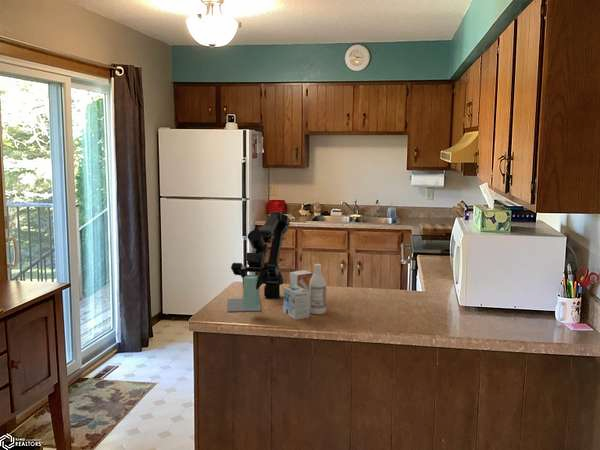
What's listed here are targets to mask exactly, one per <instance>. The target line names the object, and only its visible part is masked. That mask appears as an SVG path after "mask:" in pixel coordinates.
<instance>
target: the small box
mask: <svg viewBox="0 0 600 450" xmlns="http://www.w3.org/2000/svg"><path fill="white" fill-rule="evenodd" d="M313 274H314V272H311V271H308V270H305V269H304V270H295V271H290V272H289V287H291V286H299V287H301V288H303V289H305V290H307V291H309V282H310V279H311V277H312V276H313Z"/></svg>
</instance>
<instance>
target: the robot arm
mask: <svg viewBox="0 0 600 450" xmlns="http://www.w3.org/2000/svg"><path fill="white" fill-rule="evenodd" d="M290 225H291V219H290V216H288V215H286V214H284V213H282V212H281V211H270V212H269V216H268V218H267V219H266V221H265V223H264V224H263V225H262V226H260V227H254V228H253V230H251V231H249V233H248V234H247V239H248V241H249V244H250V246H251V248H253V249H252V252H246V254H245V261H246V264H247V265H248V266H246V265H243V263H242V262H233V263H232V264H231V266H230V268H231V271H232V272H233V275H235V276H240V277H241V278H242V281H243V278H244V277H245V276H247V275H248V273H259V275H258V276H259V279H258V282H257V286H256V289H258V288H259V289H260V287H261V286H262V285H264V286H263V290H264V291H263V296H264V297H265V298H264V299H280V298H281V295H280V292H281V291H280V290H281V289H280V287H281V285H283V284H284V276H283V275H282V271H281V268H280V265H279V264H280V263H279V262H280V256H281V250H282V244H283V238H284V235H285V233H287V231H289V230H288V229H289V226H290ZM268 244H271V245H270V248H269V246H268ZM268 248H269V249H270V250H269V249H268ZM268 250H269V251H268ZM268 252H269V257H268V261H267V262H266V256H267V253H268Z"/></svg>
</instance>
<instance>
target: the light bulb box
mask: <svg viewBox="0 0 600 450" xmlns="http://www.w3.org/2000/svg"><path fill="white" fill-rule="evenodd" d="M309 297H310V291H307V290H305V289H303V288H301V287H299V286H291V287H290V286H286V287H283V314H286V315H287V316H288V317H290V318H291V319H292V320H295V321H296V320H303V319H307V318H310V312H309Z"/></svg>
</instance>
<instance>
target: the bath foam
mask: <svg viewBox="0 0 600 450" xmlns="http://www.w3.org/2000/svg"><path fill="white" fill-rule="evenodd" d="M313 269H314V272H313V274H312V277H311V279H310V282H309V291H310V297H309V314H313V315H323V314H325V313H326V311H327V281H326V279H325V277H324V275H323V274H322V264H321V263H315V264H314V266H313Z"/></svg>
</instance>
